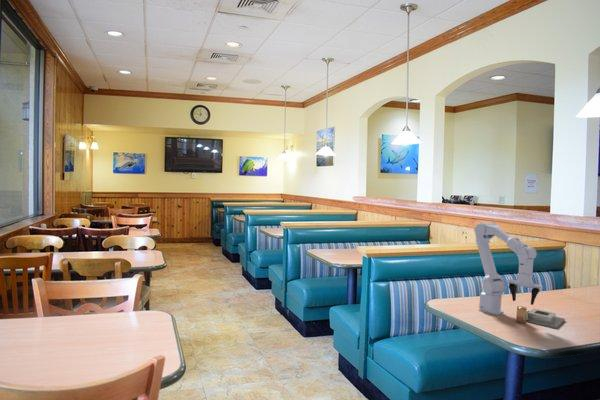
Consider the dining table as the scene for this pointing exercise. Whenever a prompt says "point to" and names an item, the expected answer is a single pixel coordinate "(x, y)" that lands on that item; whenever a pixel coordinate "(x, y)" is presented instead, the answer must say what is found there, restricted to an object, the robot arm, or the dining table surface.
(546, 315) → the flange socket
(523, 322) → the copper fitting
